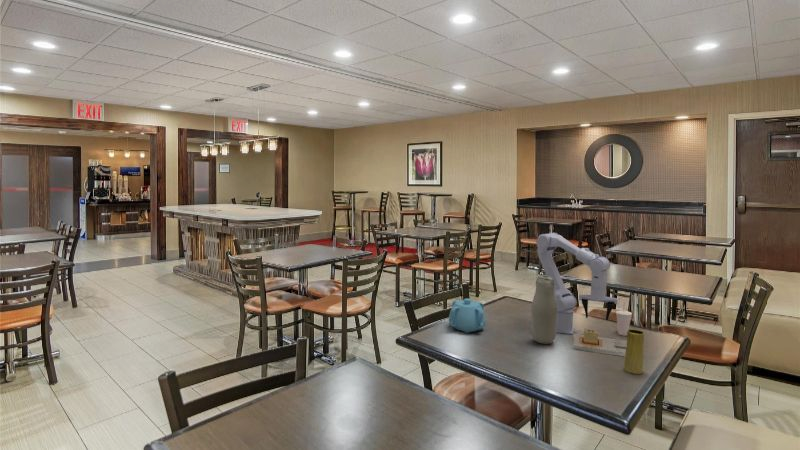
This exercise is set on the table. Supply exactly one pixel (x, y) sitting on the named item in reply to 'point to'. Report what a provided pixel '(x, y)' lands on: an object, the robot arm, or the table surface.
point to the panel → (601, 345)
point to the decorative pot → (467, 315)
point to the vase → (634, 352)
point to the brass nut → (590, 336)
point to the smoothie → (623, 321)
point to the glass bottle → (544, 311)
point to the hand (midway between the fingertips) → (596, 318)
